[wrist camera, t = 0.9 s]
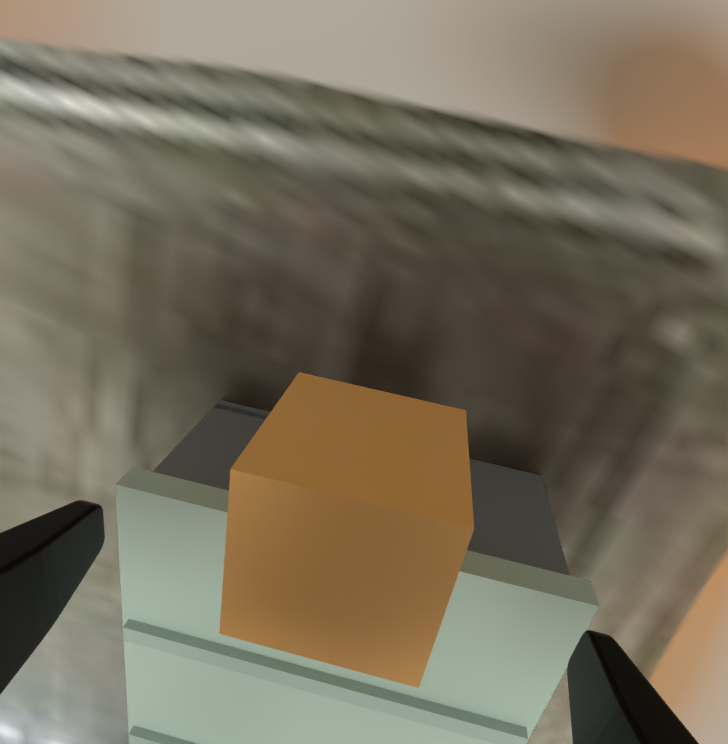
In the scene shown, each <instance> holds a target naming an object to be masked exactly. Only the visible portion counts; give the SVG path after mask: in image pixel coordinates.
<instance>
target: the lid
mask: <svg viewBox="0 0 728 744" xmlns="http://www.w3.org/2000/svg"><path fill="white" fill-rule="evenodd" d="M115 488H116V506H117V525H118V544H119V562H120V581H121V600H122V618H123V641H124V656H125V674H126V693H127V712H128V730H129V734H128V736H129V744H526V743H527V741H528V739H529V737H530V735H531V734H532V732H533V730H534V728H535V726H536V724H537V722H538V720H539V719H540V717H541V715H542V713H543V711H544V709H545V707H546V706H547V704H548V702H549V700H550V698H551V696H552V694H553V692H554V691H555V689H556V687H557V685H558V683H559V681H560V679H561V677H562V676H563V674H564V672H565V670H566V668H567V666H568V662H569V659H570V657H571V655H572V653H573V651H574V649H575V647H576V645H577V643H578V642H579V640H580V638H581V636H582V634H583V633H584V632H585V631H587V629H588V627H589V625H590V623H591V621H592V620H593V618H594V616H595V614H596V612H597V610H598V608H599V604H598V601H597V598H596V595H595V592H594V589H593V586H592V583H591V581H589V580H585V579H581V578H577V577H573V576H569V575H565V574H561V573H557V572H553V571H549V570H545V569H541V568H537V567H533V566H529V565H525V564H521V563H517V562H513V561H509V560H505V559H501V558H497V557H493V556H489V555H485V554H481V553H477V552H473V551H469V550H467V548H468V545H469V542H470V539H471V536H472V534H473V531H474V519H473V505H472V490H471V476H470V461H469V447H468V432H467V417H466V410H463V409H459V408H454V407H450V406H445V405H441V404H437V403H432V402H428V401H423V400H419V399H415V398H410V397H406V396H401V395H397V394H393V393H388V392H384V391H380V390H375V389H371V388H366V387H362V386H358V385H353V384H349V383H344V382H340V381H336V380H331V379H327V378H322V377H318V376H314V375H309V374H305V373H300V372H299V373H298V374H297V376H296V377H295V378H294V380H293V381H292V383H291V384H290V386H289V387H288V388H287V390H286V391H285V393H284V394H283V395H282V397H281V398H280V400H279V401H278V403H277V404H276V405H275V407H274V408H273V410H272V411H271V412H270V414H269V415H268V417H267V418H266V420H265V421H264V422H263V424H262V425H261V427H260V428H259V429H258V431H257V432H256V434H255V435H254V436H253V438H252V439H251V441H250V442H249V444H248V445H247V446H246V448H245V449H244V451H243V452H242V453H241V455H240V456H239V458H238V459H237V461H236V462H235V463H234V465H233V466H232V468H231V469H230V484H229V491H228V490H224V489H220V488H216V487H212V486H208V485H204V484H200V483H196V482H192V481H188V480H184V479H180V478H176V477H172V476H168V475H164V474H159V473H155V472H151V471H147V470H143V469H139V468H135V467H133V468H132V469H131V470H130V471H128V472H127V473H126V474H125V475H124V476H123V477H122V478H121V479H120V480H119V481H118V482H117V483H116V484H115Z"/></svg>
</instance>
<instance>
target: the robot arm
mask: <svg viewBox="0 0 728 744" xmlns="http://www.w3.org/2000/svg"><path fill="white" fill-rule="evenodd" d="M104 538H105V534H104V518H103V509H102V507H101V506H100V505H99V504H95V503H91V502H87V501H83V500H79V501H75V502H73V503H70V504H68V505H65V506H63V507H61V508H58V509H56V510H54V511H51V512H49V513H47V514H44V515H42V516H39V517H37V518H35V519H32V520H30V521H28V522H25V523H23V524H20V525H18V526H16V527H13V528H11V529H9V530H6V531H4V532H2V533H0V694H1V693H2V692H3V690H4V689H5V688H6V686H7V685H8V684H9V682H10V681H11V680H12V679H13V677H14V676H15V675H16V673H17V672H18V671H19V669H20V668H21V667H22V666H23V664H24V663H25V662H26V660H27V659H28V658H29V656H30V655H31V654H32V653H33V651H34V650H35V649H36V647H37V646H38V645H39V644H40V642H41V641H42V640H43V638H44V637H45V636H46V634H47V633H48V631H49V630H50V629H51V627H52V626H53V624H54V623H55V621H56V620H57V618H58V617H59V615H60V614H61V612H62V611H63V609H64V608H65V606H66V604H67V603H68V601H69V600H70V598H71V597H72V595H73V593H74V592H75V590H76V589H77V587H78V585H79V584H80V582H81V581H82V579H83V578H84V576H85V574H86V573H87V571H88V570H89V568H90V566H91V565H92V563H93V562H94V560H95V559H96V557H97V555H98V554H99V552H100V550H101V549H102V546H103V543H104ZM567 677H568V689H569V701H570V713H571V725H572V737H573V744H699V743H698V742H697V741H696V740H695V738H694V737H693V736H692V735H691V733H690V732H689V731H688V730H687V729H686V728H685V726H684V725H683V724H682V722H681V721H680V720H679V719H678V717H677V716H676V715H675V714H674V713H673V711H672V710H671V709H670V708H669V706H668V705H667V704H666V703H665V701H664V700H663V699H662V698H661V696H660V695H659V694H658V693H657V692H656V690H655V689H654V688H653V687H652V685H651V684H650V683H649V682H648V680H647V679H646V678H645V677H644V675H643V674H642V673H641V672H640V670H639V669H638V668H637V667H636V666H635V664H634V663H633V662H632V661H631V659H630V658H629V657H628V656H627V654H626V653H625V652H624V651H623V649H622V648H621V647H620V646H619V645H618V643H617V642H616V641H615V640H614V639H613V638H612V637H611V636H609V635H607V634H603V633H599V632H595V631H591V630H587V631H585V632H584V633H583V634H582V636H581V638H580V640H579V642H578V643H577V645H576V647H575V649H574V651H573V653H572V655H571V657H570V659H569V662H568V667H567Z"/></svg>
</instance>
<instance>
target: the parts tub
mask: <svg viewBox="0 0 728 744" xmlns="http://www.w3.org/2000/svg"><path fill="white" fill-rule="evenodd" d="M269 414H270V412H269V411H265V410H261V409H257V408H252V407H248V406H244V405H240V404H235V403H231V402H227V401H223V400H220V401H219V402H218V403H217V404H216V405H215V406H214V408H213V409H212V410H211V411H210V412H209V413H208V414H207V415H206V416H205V417H204V418H203V419H202V420H201V421H200V422H199V423H198V424H197V425H196V426H195V427H194V429H193V430H192V431H191V432H190V433H189V434H188V435H187V436H186V437H185V438H184V439H183V440H182V441H181V442H180V443H179V444H178V445H177V446H176V447H175V449H174V450H173V451H172V452H171V453H170V454H169V455H168V456H167V457H166V458H165V459H164V460H163V461H162V462H161V463H160V464H159V465H158V466H157V467H156V469H155V470H154V471H153V472H155V473H159V474H164V475H168V476H172V477H176V478H180V479H184V480H188V481H192V482H196V483H200V484H204V485H208V486H212V487H216V488H220V489H224V490H228V491H229V484H230V469H231V468H232V466H233V465H234V463H235V462H236V461H237V459H238V458H239V456H240V455H241V453H242V452H243V451H244V449H245V448H246V446H247V445H248V444H249V442H250V441H251V439H252V438H253V436H254V435H255V434H256V432H257V431H258V429H259V428H260V427H261V425H262V424H263V422H264V421H265V420H266V418H267V417H268V415H269ZM469 461H470V476H471V490H472V505H473V519H474V531H473V534H472V536H471V539H470V542H469V545H468V548H467V550H469V551H473V552H477V553H481V554H485V555H489V556H493V557H497V558H501V559H505V560H509V561H513V562H517V563H521V564H525V565H529V566H533V567H537V568H541V569H545V570H549V571H553V572H557V573H561V574H565V575H569V576H570V574H569V571H568V568H567V564H566V561H565V557H564V554H563V550H562V547H561V544H560V540H559V537H558V533H557V530H556V526H555V523H554V519H553V516H552V513H551V509H550V506H549V502H548V499H547V495H546V492H545V489H544V485H543V482H542V478H541V475H538V474H533V473H529V472H525V471H521V470H516V469H512V468H508V467H504V466H499V465H495V464H491V463H487V462H482V461H478V460H474V459H469Z"/></svg>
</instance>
